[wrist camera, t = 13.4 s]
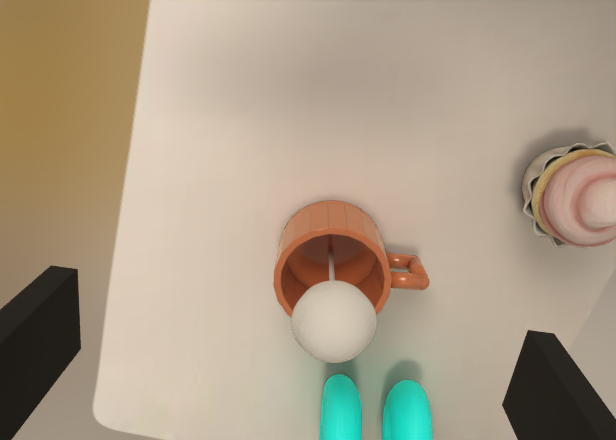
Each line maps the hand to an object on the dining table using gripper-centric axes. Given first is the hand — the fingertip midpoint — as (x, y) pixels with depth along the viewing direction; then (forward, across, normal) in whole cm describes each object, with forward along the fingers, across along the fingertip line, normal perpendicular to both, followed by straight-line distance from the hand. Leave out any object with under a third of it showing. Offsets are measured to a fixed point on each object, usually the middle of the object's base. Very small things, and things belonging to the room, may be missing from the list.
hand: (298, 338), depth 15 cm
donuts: (+32, +9, -28) cm, 44 cm away
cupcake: (+32, +22, -2) cm, 39 cm away
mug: (+32, +4, -11) cm, 34 cm away
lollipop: (+31, +3, -11) cm, 33 cm away
